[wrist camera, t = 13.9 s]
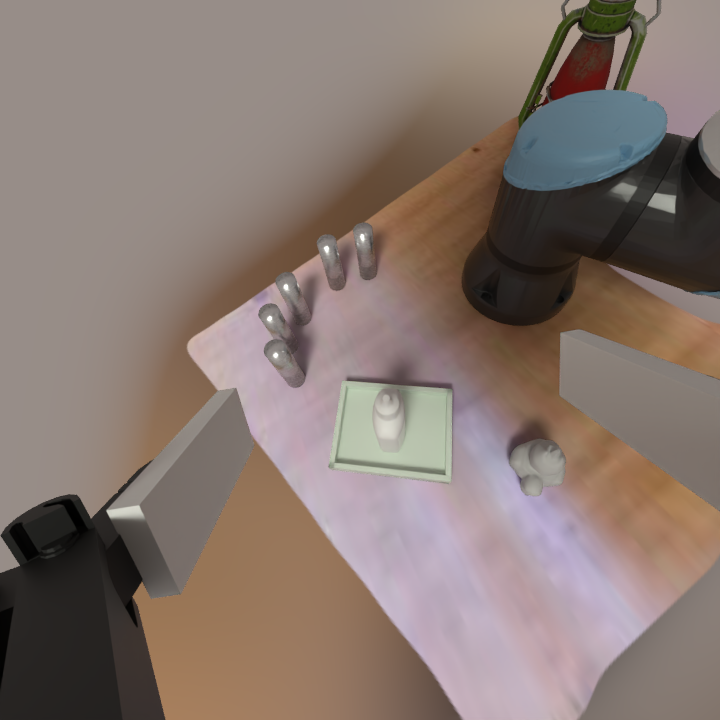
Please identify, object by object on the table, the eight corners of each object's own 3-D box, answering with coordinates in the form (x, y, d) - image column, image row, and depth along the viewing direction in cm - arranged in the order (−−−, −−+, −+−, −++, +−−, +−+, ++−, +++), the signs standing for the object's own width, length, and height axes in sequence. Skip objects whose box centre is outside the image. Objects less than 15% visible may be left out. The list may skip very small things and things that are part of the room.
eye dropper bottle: (418, 420, 42) (422, 385, 32) (394, 459, 41) (389, 436, 30) (388, 402, 44) (382, 363, 33) (364, 439, 42) (349, 410, 31)
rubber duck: (561, 454, 40) (596, 439, 33) (545, 509, 37) (580, 505, 30) (514, 434, 41) (537, 415, 34) (496, 486, 39) (518, 477, 32)
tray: (450, 394, 44) (452, 389, 42) (448, 483, 40) (451, 481, 38) (344, 386, 46) (342, 380, 45) (331, 469, 42) (328, 467, 40)
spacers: (379, 270, 54) (376, 226, 46) (298, 390, 47) (277, 362, 39) (340, 255, 57) (330, 210, 49) (256, 368, 49) (228, 337, 41)
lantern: (496, 177, 61) (572, -97, 34) (515, 142, 65) (596, -131, 38) (579, 196, 57) (739, -99, 30) (594, 157, 61) (747, -136, 34)
